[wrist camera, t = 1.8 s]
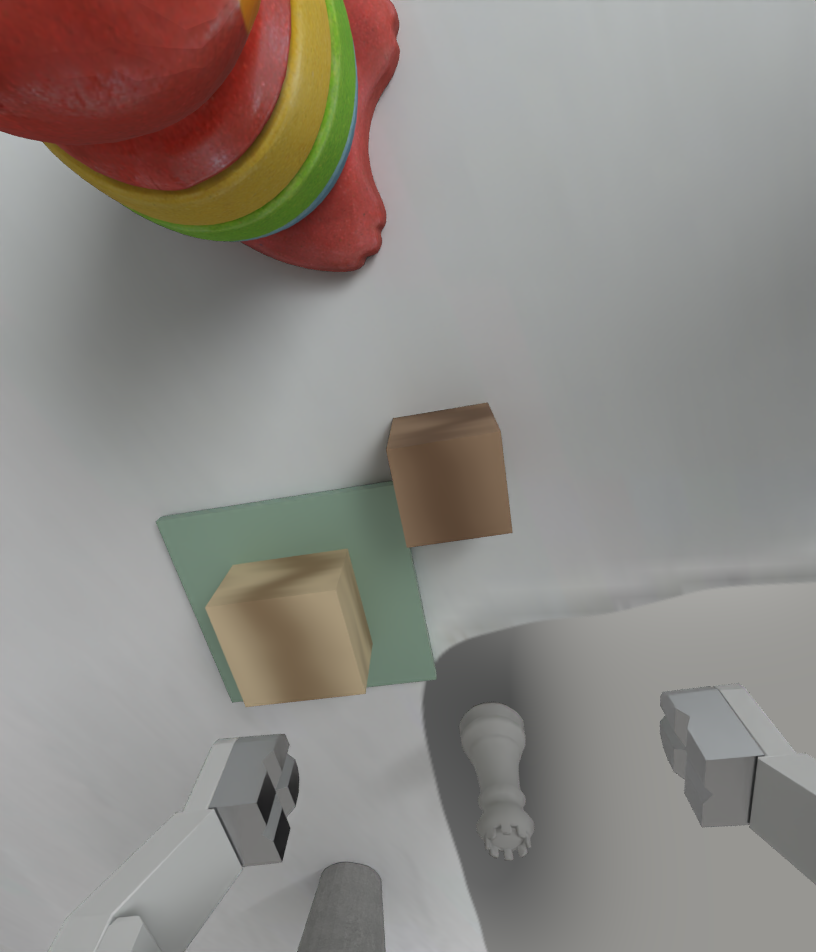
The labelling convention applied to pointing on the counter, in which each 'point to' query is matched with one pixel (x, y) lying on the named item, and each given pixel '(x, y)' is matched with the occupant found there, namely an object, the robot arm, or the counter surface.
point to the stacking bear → (213, 113)
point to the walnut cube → (449, 475)
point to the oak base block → (293, 628)
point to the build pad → (306, 532)
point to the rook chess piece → (498, 776)
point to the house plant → (346, 912)
